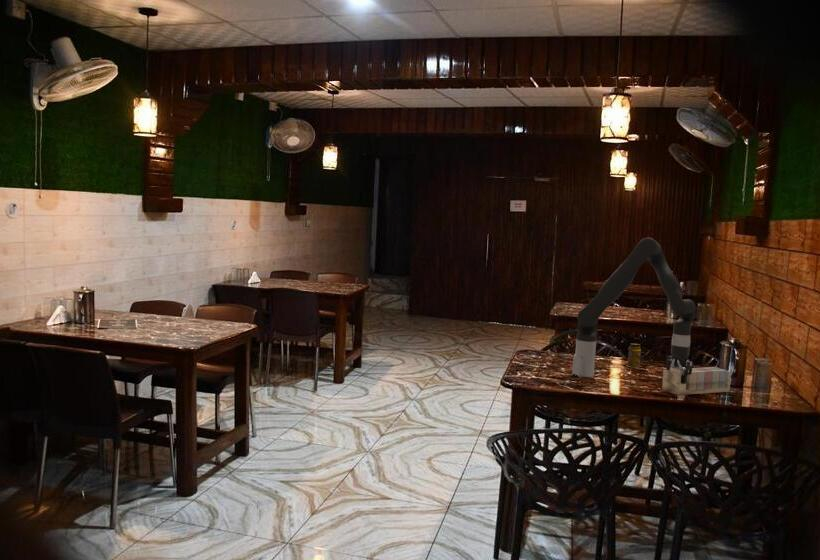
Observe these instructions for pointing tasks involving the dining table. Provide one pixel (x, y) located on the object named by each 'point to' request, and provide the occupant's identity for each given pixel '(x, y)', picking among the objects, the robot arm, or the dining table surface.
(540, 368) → the dining table surface
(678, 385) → the pastel slab stack
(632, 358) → the condiment
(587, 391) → the dining table surface
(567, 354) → the dining table surface
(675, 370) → the cream block
